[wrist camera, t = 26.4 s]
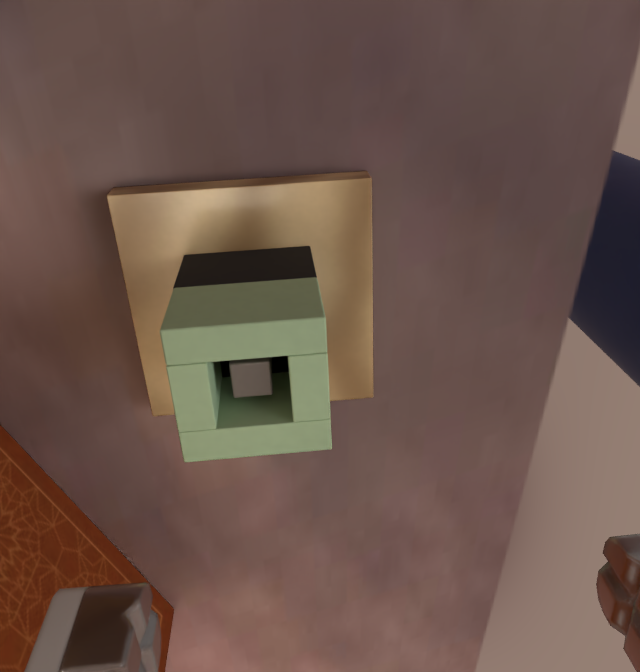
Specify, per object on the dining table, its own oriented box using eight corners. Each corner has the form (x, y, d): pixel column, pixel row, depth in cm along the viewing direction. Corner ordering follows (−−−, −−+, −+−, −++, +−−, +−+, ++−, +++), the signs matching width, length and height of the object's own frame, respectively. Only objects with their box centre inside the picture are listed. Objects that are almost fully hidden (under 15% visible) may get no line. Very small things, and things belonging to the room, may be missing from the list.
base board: (366, 170, 29) (403, 222, 22) (369, 383, 35) (398, 483, 27) (113, 187, 29) (60, 246, 21) (156, 401, 34) (127, 508, 27)
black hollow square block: (310, 245, 29) (316, 276, 26) (316, 354, 32) (323, 396, 28) (183, 254, 29) (172, 287, 25) (200, 364, 32) (193, 407, 28)
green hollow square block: (317, 276, 26) (326, 317, 22) (323, 396, 28) (332, 449, 25) (173, 287, 25) (158, 330, 22) (193, 407, 28) (183, 463, 25)
